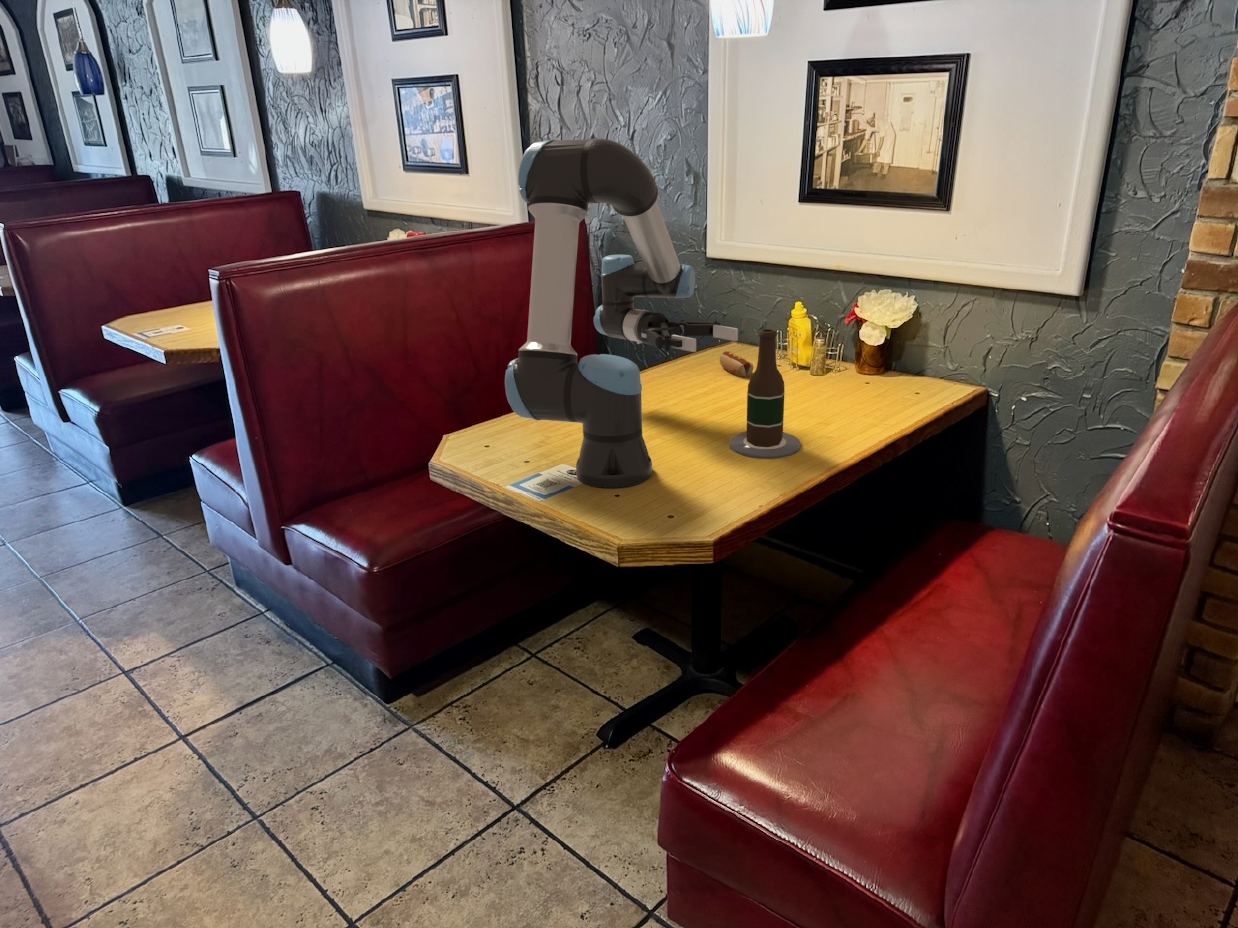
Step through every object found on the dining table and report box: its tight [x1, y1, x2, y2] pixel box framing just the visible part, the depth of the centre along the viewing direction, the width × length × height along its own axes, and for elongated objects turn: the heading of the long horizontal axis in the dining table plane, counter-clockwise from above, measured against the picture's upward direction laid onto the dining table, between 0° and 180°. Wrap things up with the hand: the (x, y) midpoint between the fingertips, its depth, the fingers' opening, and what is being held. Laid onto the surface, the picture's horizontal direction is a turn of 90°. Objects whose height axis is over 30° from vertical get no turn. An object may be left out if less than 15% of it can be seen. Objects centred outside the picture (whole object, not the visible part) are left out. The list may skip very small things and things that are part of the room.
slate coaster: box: [728, 430, 801, 459], centre depth 180 cm, size 15×15×1 cm
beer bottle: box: [746, 328, 785, 447], centre depth 175 cm, size 8×8×24 cm
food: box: [719, 350, 754, 378], centre depth 233 cm, size 14×6×5 cm, turn 21°
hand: (716, 340), depth 182 cm, fingers open, 13 cm apart
